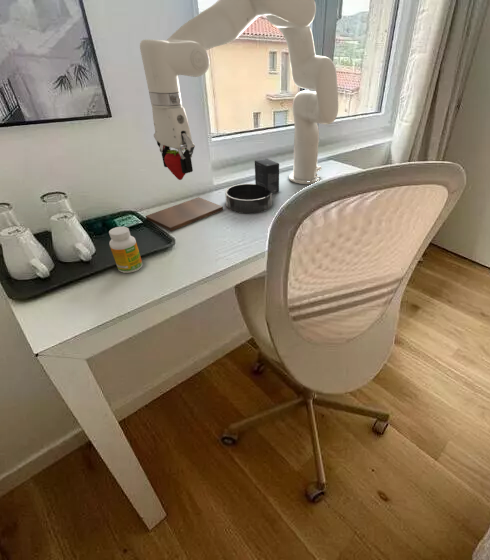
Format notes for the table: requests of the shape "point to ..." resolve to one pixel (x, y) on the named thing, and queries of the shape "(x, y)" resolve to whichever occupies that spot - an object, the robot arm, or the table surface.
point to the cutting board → (184, 213)
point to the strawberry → (174, 163)
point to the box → (267, 174)
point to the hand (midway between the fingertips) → (178, 169)
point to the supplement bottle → (124, 250)
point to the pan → (248, 198)
